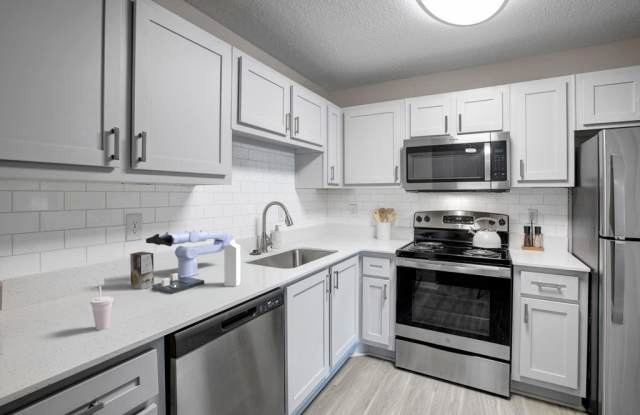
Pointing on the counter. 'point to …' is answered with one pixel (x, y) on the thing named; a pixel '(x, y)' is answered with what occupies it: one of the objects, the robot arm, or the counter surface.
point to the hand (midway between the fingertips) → (151, 241)
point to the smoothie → (102, 311)
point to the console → (179, 285)
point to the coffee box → (142, 270)
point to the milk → (232, 264)
